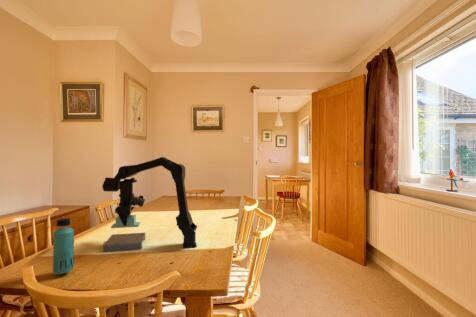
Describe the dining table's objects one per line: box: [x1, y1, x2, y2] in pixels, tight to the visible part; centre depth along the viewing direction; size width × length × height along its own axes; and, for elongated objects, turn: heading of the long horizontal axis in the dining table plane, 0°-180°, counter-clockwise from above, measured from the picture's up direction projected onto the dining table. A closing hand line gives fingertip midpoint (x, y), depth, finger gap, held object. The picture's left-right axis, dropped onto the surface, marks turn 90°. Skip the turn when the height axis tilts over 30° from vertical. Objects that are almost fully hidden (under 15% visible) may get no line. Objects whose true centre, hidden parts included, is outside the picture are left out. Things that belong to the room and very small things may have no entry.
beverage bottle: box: [52, 217, 75, 275], centre depth 91 cm, size 6×7×20 cm
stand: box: [102, 232, 146, 253], centre depth 122 cm, size 16×16×3 cm
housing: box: [110, 214, 141, 229], centre depth 122 cm, size 12×6×5 cm, turn 104°
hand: (126, 223), depth 122 cm, fingers closed on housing, 6 cm apart
